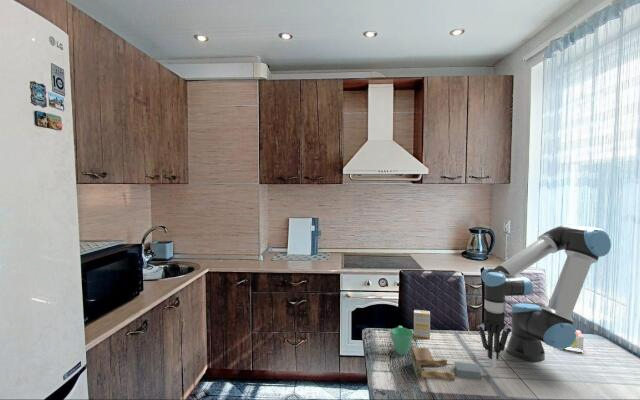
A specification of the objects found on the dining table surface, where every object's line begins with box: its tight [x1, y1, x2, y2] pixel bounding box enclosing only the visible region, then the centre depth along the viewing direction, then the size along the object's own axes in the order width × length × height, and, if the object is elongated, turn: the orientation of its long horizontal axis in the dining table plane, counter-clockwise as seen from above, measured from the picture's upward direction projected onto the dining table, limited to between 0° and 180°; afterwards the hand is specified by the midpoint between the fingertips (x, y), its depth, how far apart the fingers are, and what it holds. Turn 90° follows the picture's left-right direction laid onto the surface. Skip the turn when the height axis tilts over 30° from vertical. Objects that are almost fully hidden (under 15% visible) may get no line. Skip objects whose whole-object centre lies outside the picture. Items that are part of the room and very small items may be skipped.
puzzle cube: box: [569, 329, 585, 351], centre depth 161 cm, size 8×8×8 cm
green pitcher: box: [391, 325, 414, 356], centre depth 159 cm, size 15×10×10 cm
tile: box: [454, 361, 482, 380], centre depth 139 cm, size 9×7×3 cm
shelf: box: [411, 347, 455, 382], centre depth 140 cm, size 15×13×7 cm
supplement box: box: [413, 309, 431, 339], centre depth 174 cm, size 8×5×13 cm, turn 71°
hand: (492, 366), depth 137 cm, fingers closed
